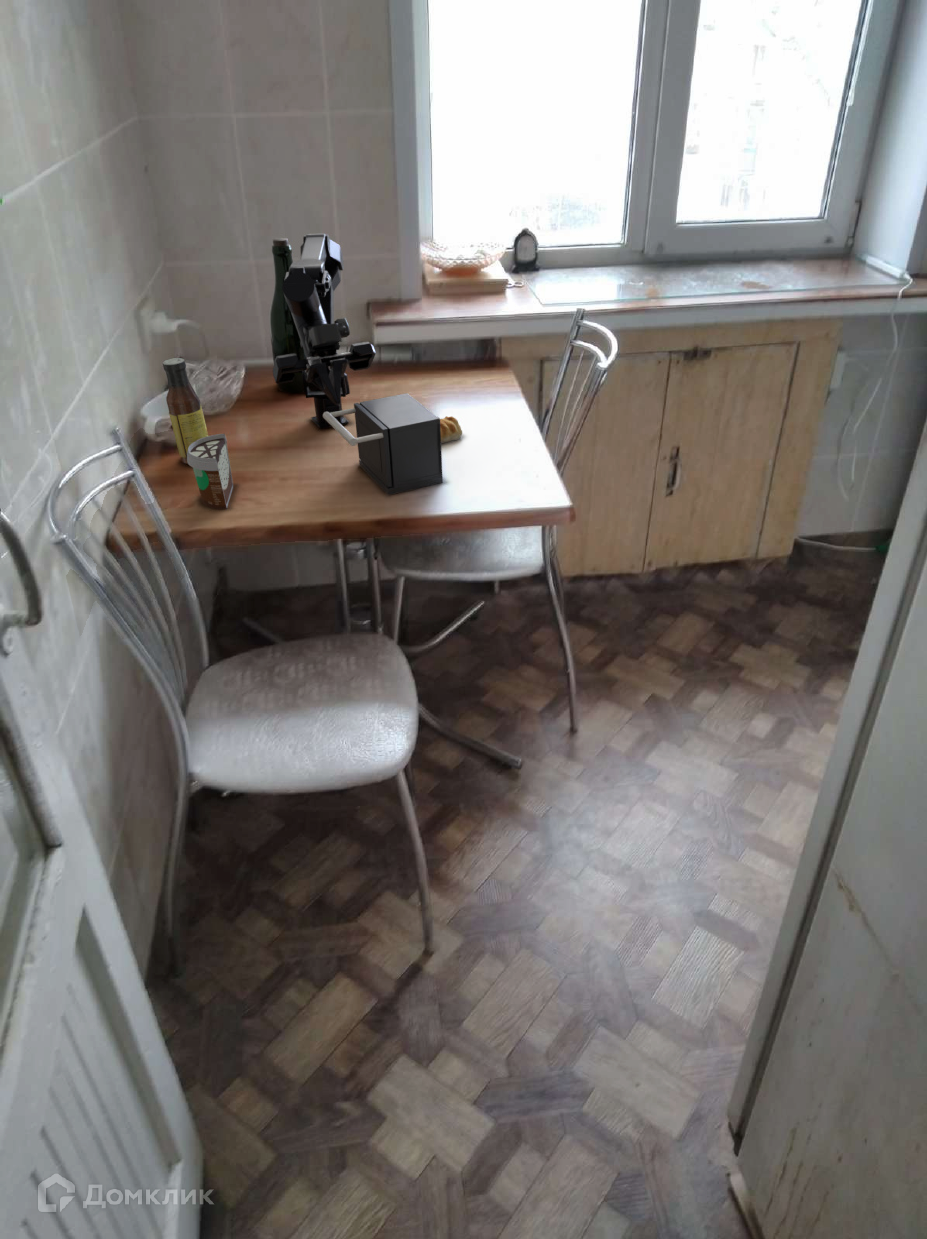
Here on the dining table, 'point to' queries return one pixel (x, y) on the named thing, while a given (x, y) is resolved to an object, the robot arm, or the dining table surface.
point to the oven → (408, 442)
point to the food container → (212, 470)
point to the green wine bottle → (284, 316)
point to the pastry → (449, 429)
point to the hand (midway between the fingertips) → (338, 403)
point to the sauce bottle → (183, 407)
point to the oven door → (366, 440)
